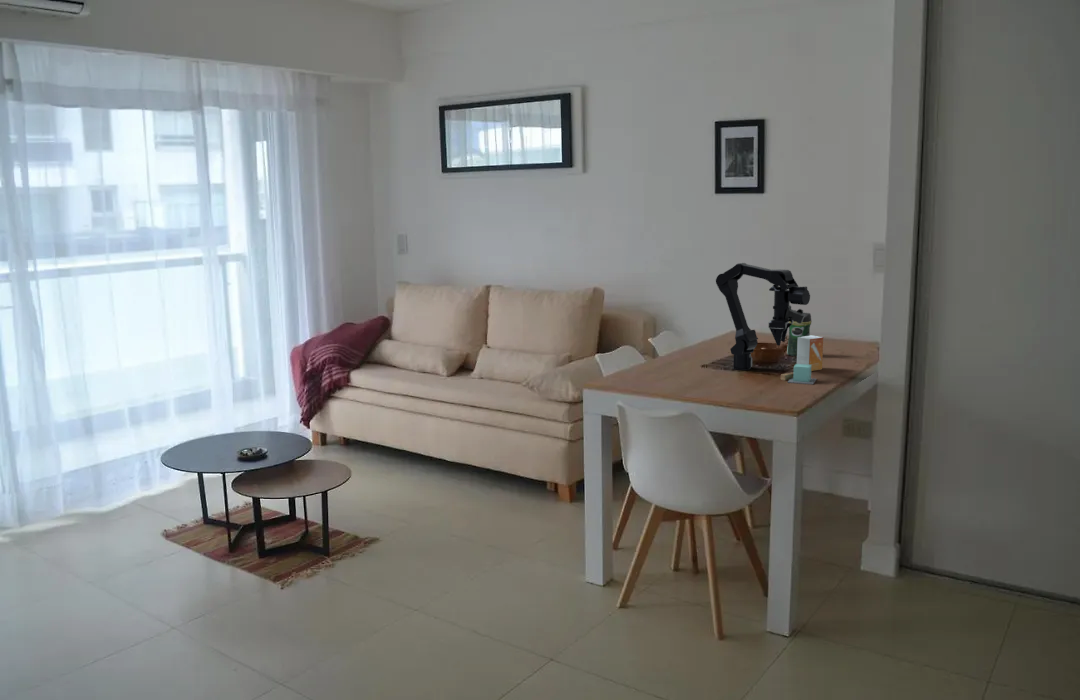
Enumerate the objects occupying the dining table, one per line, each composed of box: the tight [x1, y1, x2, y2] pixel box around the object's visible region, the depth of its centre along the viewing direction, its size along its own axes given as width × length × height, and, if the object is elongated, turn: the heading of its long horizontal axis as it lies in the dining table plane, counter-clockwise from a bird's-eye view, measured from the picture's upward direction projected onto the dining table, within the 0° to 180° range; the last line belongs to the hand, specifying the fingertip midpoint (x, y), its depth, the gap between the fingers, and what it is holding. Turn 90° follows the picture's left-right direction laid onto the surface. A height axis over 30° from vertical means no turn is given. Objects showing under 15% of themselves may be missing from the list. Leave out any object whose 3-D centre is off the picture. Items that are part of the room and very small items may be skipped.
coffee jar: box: [786, 312, 812, 357], centre depth 383 cm, size 10×8×19 cm
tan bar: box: [780, 371, 794, 382], centre depth 337 cm, size 8×2×2 cm, turn 125°
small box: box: [796, 334, 824, 372], centre depth 353 cm, size 8×6×13 cm
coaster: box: [787, 377, 817, 385], centre depth 332 cm, size 9×9×1 cm
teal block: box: [793, 363, 812, 382], centre depth 332 cm, size 6×6×6 cm
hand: (780, 343), depth 344 cm, fingers open, 9 cm apart
